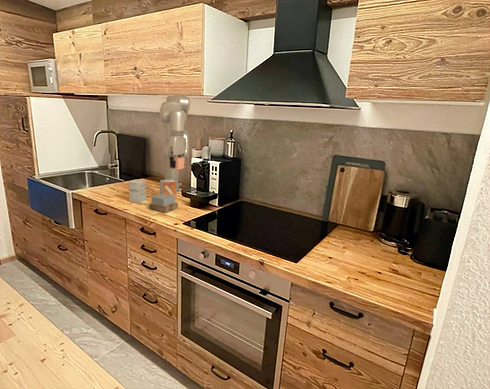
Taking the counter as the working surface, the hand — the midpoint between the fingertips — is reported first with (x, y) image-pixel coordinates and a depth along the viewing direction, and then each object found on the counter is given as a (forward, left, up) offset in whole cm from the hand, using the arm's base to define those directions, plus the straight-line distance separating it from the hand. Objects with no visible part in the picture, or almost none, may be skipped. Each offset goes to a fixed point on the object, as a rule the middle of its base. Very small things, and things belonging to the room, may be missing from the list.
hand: (176, 166), depth 167 cm
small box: (-10, -14, -26) cm, 31 cm away
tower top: (+4, -6, -22) cm, 23 cm away
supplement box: (+1, -28, -26) cm, 38 cm away
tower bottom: (+4, -6, -26) cm, 27 cm away
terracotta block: (0, 0, -1) cm, 1 cm away
